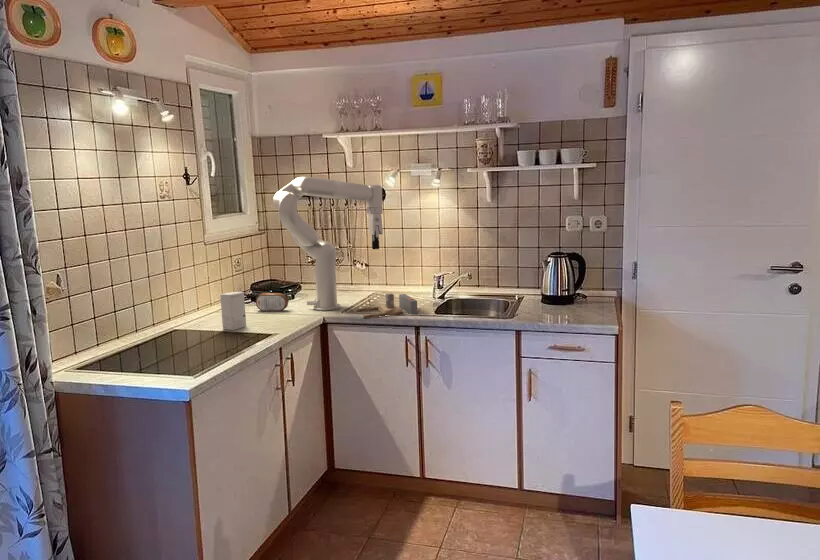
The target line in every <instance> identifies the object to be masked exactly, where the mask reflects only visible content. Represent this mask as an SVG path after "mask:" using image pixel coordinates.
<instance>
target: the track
mask: <svg viewBox="0 0 820 560" xmlns="http://www.w3.org/2000/svg"><path fill="white" fill-rule="evenodd" d="M355 310H356V311H355V312H356V313H362V311H364V312H371V311H372V312H373V311H374V310H375V311H379V309H378V306H377V307H376V306H375V307H366V308H365V307H364V308H356V309H355ZM375 311H374V312H375ZM400 314H403V315H404V311H402V312H394V313H373V314H364V315H362V316H363V319H374V318H380V317H379V316H385V315H396V316H401V315H400ZM385 317H386V316H385Z"/></svg>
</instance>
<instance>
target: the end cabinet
mask: <svg viewBox="0 0 820 560" xmlns="http://www.w3.org/2000/svg"><path fill="white" fill-rule="evenodd" d="M398 297H399V298H398V304H399V305H398V306H399V307H400V308H402V311H404V312H406V313H407V312H408V314H409V315H410V314H415V315H418V300H416V299H415V298H413V297H411V296H410V295H409V294H406V293H402V294H401V293H400V294H398ZM408 298H412V299H413V300H408Z"/></svg>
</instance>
